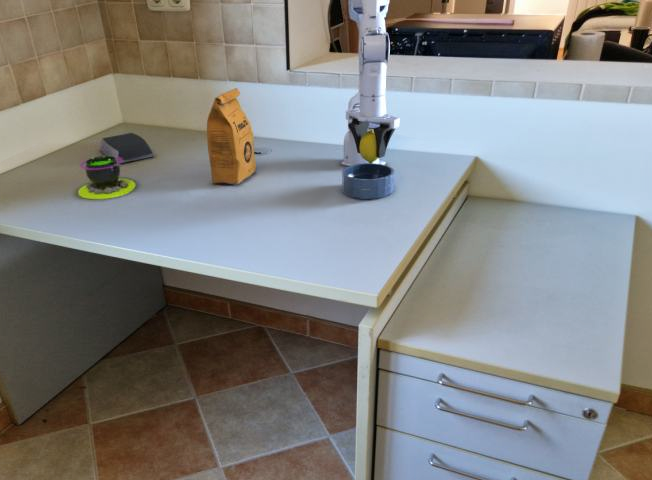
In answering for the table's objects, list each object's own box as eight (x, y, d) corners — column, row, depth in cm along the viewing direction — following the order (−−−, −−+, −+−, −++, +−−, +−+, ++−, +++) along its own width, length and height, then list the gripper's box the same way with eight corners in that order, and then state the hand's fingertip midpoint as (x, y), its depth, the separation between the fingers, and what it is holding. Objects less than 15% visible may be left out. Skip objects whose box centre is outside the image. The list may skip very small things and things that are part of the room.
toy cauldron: (146, 182, 162) (139, 141, 156) (111, 202, 151) (102, 158, 145) (102, 177, 167) (93, 137, 161) (66, 195, 156) (54, 153, 150)
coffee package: (262, 173, 163) (256, 87, 150) (239, 188, 154) (230, 98, 141) (231, 169, 167) (222, 85, 154) (206, 184, 158) (195, 96, 146)
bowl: (332, 192, 148) (331, 172, 145) (365, 179, 155) (365, 159, 152) (370, 204, 140) (371, 183, 138) (403, 189, 147) (404, 169, 144)
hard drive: (114, 166, 175) (111, 152, 173) (97, 150, 190) (94, 137, 187) (156, 157, 180) (154, 143, 178) (137, 142, 194) (135, 130, 192)
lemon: (384, 160, 145) (385, 126, 141) (379, 168, 141) (381, 133, 137) (361, 159, 147) (362, 126, 143) (356, 166, 143) (357, 132, 138)
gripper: (336, 93, 138) (337, 152, 145) (386, 101, 128) (383, 164, 136) (357, 88, 141) (356, 146, 149) (406, 95, 132) (403, 157, 140)
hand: (370, 154), depth 143 cm, fingers closed on lemon, 5 cm apart
